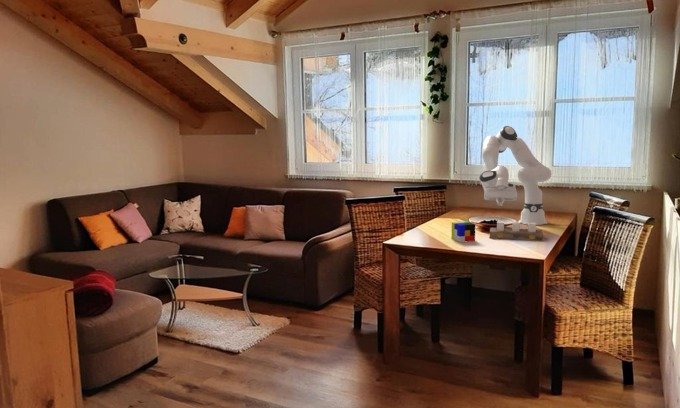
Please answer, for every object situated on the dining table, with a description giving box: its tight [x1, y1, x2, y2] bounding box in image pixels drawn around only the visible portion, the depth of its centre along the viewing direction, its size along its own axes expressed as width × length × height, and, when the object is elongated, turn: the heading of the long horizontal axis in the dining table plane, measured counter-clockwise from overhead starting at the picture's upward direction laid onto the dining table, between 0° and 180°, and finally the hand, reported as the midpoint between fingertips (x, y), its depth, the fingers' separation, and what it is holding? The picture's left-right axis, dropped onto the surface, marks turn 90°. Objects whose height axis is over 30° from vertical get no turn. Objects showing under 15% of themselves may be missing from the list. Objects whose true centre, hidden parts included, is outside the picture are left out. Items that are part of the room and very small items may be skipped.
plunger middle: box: [511, 221, 521, 232], centre depth 309 cm, size 4×4×6 cm
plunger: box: [527, 222, 537, 232], centre depth 307 cm, size 4×4×6 cm
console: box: [489, 227, 544, 242], centre depth 310 cm, size 12×30×4 cm, turn 73°
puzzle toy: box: [451, 220, 476, 243], centre depth 305 cm, size 10×10×10 cm
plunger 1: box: [496, 220, 505, 231], centre depth 312 cm, size 4×4×6 cm
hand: (500, 204), depth 321 cm, fingers closed
